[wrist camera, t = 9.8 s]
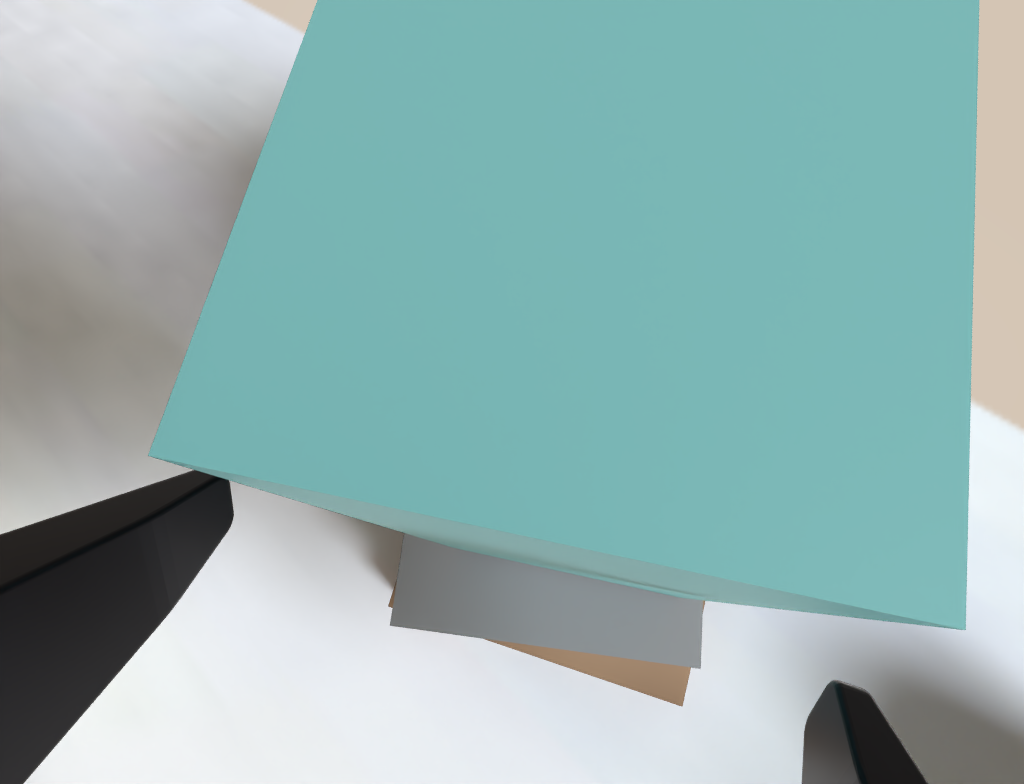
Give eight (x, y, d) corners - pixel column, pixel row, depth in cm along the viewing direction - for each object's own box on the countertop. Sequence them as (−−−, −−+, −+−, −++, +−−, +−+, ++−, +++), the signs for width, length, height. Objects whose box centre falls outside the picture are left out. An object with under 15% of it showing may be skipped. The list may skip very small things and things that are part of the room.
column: (680, 597, 16) (966, 630, 4) (452, 547, 17) (148, 456, 5) (711, 374, 18) (981, -68, 6) (500, 339, 19) (354, -101, 7)
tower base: (672, 690, 20) (682, 706, 18) (411, 602, 22) (388, 606, 20) (732, 421, 22) (748, 403, 20) (488, 361, 24) (475, 338, 22)
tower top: (687, 656, 18) (700, 668, 16) (416, 619, 19) (389, 625, 17) (698, 385, 20) (711, 359, 18) (452, 368, 21) (433, 342, 19)
